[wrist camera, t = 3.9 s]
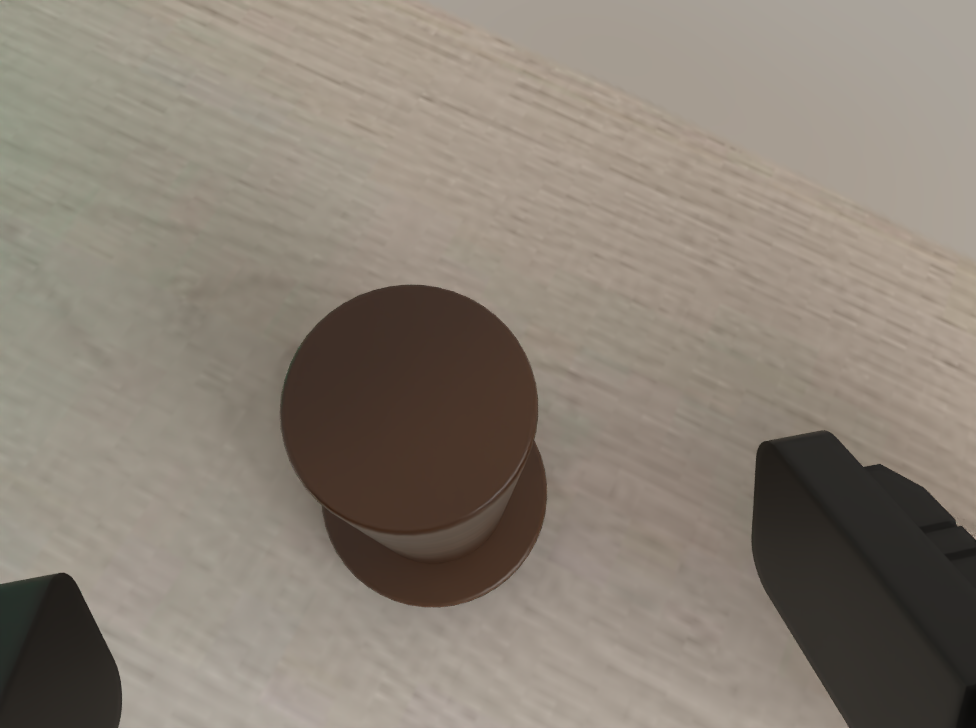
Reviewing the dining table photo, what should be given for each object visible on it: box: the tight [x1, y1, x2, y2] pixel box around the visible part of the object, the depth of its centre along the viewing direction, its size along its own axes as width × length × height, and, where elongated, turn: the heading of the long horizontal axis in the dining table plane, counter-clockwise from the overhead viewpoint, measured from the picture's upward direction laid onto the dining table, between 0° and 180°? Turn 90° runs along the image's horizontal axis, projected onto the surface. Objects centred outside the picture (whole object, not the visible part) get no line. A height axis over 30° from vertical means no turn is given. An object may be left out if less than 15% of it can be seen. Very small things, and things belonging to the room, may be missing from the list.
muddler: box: [280, 285, 547, 607], centre depth 14 cm, size 4×4×10 cm
